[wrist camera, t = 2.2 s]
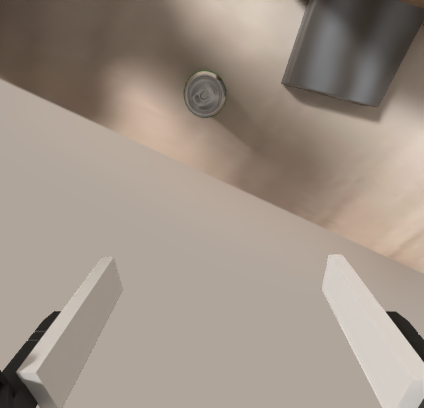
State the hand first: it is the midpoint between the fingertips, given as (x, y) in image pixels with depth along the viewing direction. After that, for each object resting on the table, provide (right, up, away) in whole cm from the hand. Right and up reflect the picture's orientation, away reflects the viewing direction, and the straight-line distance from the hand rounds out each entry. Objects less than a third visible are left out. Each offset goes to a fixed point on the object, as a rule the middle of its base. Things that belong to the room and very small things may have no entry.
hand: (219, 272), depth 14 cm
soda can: (-1, +22, +23) cm, 32 cm away
